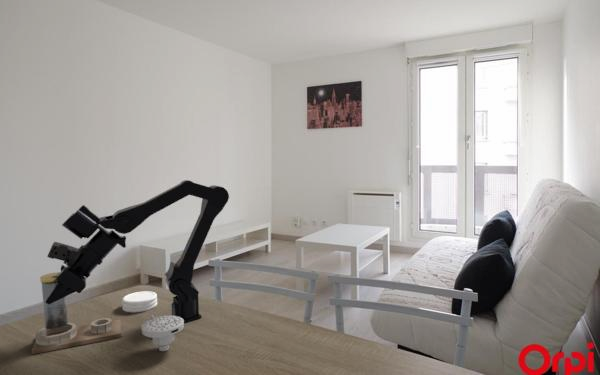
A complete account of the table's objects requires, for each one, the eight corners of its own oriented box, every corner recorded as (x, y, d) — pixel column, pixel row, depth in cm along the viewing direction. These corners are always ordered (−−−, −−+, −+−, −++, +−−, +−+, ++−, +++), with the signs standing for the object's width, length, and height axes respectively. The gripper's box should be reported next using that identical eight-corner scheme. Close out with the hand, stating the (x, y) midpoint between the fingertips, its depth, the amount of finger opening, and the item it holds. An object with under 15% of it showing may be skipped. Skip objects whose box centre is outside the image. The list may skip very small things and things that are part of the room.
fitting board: (120, 322, 109) (119, 312, 109) (121, 337, 100) (120, 325, 100) (38, 337, 101) (38, 325, 100) (32, 354, 92) (31, 341, 91)
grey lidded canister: (59, 319, 101) (55, 271, 100) (73, 321, 99) (69, 273, 98) (39, 327, 96) (35, 277, 95) (53, 330, 94) (49, 279, 93)
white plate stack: (163, 302, 125) (163, 291, 125) (144, 314, 115) (144, 302, 115) (136, 300, 127) (135, 289, 127) (115, 312, 117) (114, 300, 117)
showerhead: (167, 308, 100) (191, 317, 94) (168, 335, 100) (192, 346, 94) (131, 320, 92) (156, 331, 86) (133, 350, 93) (157, 363, 87)
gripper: (72, 225, 106) (25, 271, 102) (65, 236, 89) (10, 292, 85) (106, 250, 110) (63, 295, 106) (106, 265, 93) (54, 320, 89)
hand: (48, 299), depth 97 cm, fingers closed on grey lidded canister, 5 cm apart
